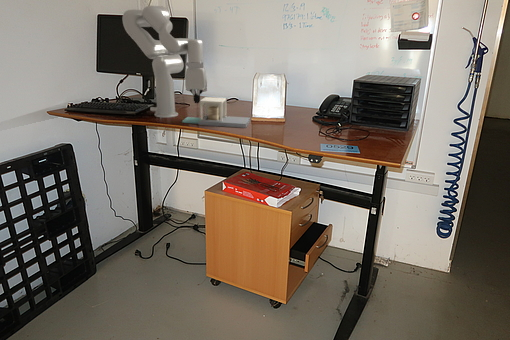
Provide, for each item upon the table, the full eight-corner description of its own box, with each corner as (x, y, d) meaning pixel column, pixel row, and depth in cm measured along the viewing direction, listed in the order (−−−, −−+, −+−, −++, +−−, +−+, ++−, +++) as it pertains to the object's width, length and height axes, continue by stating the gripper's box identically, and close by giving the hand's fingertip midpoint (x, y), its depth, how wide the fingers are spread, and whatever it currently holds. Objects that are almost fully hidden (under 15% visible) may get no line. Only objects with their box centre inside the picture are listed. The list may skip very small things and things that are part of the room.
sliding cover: (200, 119, 192) (200, 100, 188) (205, 115, 201) (205, 97, 198) (221, 121, 190) (221, 101, 187) (226, 116, 200) (226, 98, 196)
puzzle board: (198, 124, 191) (198, 121, 190) (205, 118, 204) (205, 114, 203) (245, 127, 188) (245, 123, 187) (250, 121, 201) (250, 117, 200)
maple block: (208, 123, 195) (208, 107, 192) (210, 121, 199) (210, 106, 196) (216, 123, 194) (216, 108, 191) (218, 121, 198) (218, 106, 196)
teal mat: (182, 122, 194) (181, 121, 194) (187, 118, 203) (187, 117, 202) (199, 123, 193) (199, 122, 193) (203, 119, 202) (203, 118, 201)
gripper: (178, 65, 185) (180, 103, 192) (208, 66, 183) (209, 104, 190) (183, 64, 192) (185, 100, 199) (212, 65, 190) (213, 102, 197)
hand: (197, 102), depth 194 cm, fingers closed
